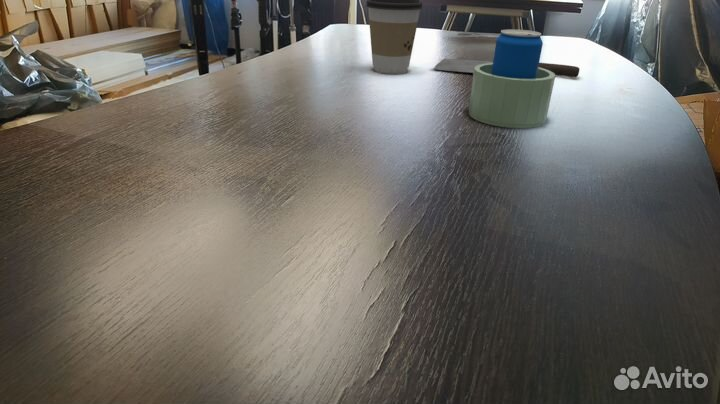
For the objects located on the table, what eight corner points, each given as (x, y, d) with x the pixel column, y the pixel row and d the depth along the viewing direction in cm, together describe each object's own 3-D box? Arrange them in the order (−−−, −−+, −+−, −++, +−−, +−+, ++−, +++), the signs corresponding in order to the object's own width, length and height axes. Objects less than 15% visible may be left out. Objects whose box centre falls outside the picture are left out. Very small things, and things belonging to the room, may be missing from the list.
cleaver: (576, 73, 106) (578, 63, 105) (581, 84, 98) (584, 73, 97) (438, 63, 113) (439, 54, 112) (432, 72, 105) (433, 62, 104)
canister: (499, 102, 85) (506, 60, 81) (560, 119, 77) (570, 74, 73) (452, 112, 78) (458, 67, 75) (514, 133, 70) (523, 83, 67)
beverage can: (527, 122, 73) (543, 37, 68) (483, 116, 75) (495, 33, 70) (530, 110, 79) (545, 31, 73) (488, 105, 81) (500, 27, 75)
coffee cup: (410, 78, 98) (417, -4, 91) (356, 73, 101) (358, -7, 94) (423, 67, 107) (429, -8, 101) (372, 62, 111) (375, -11, 104)
